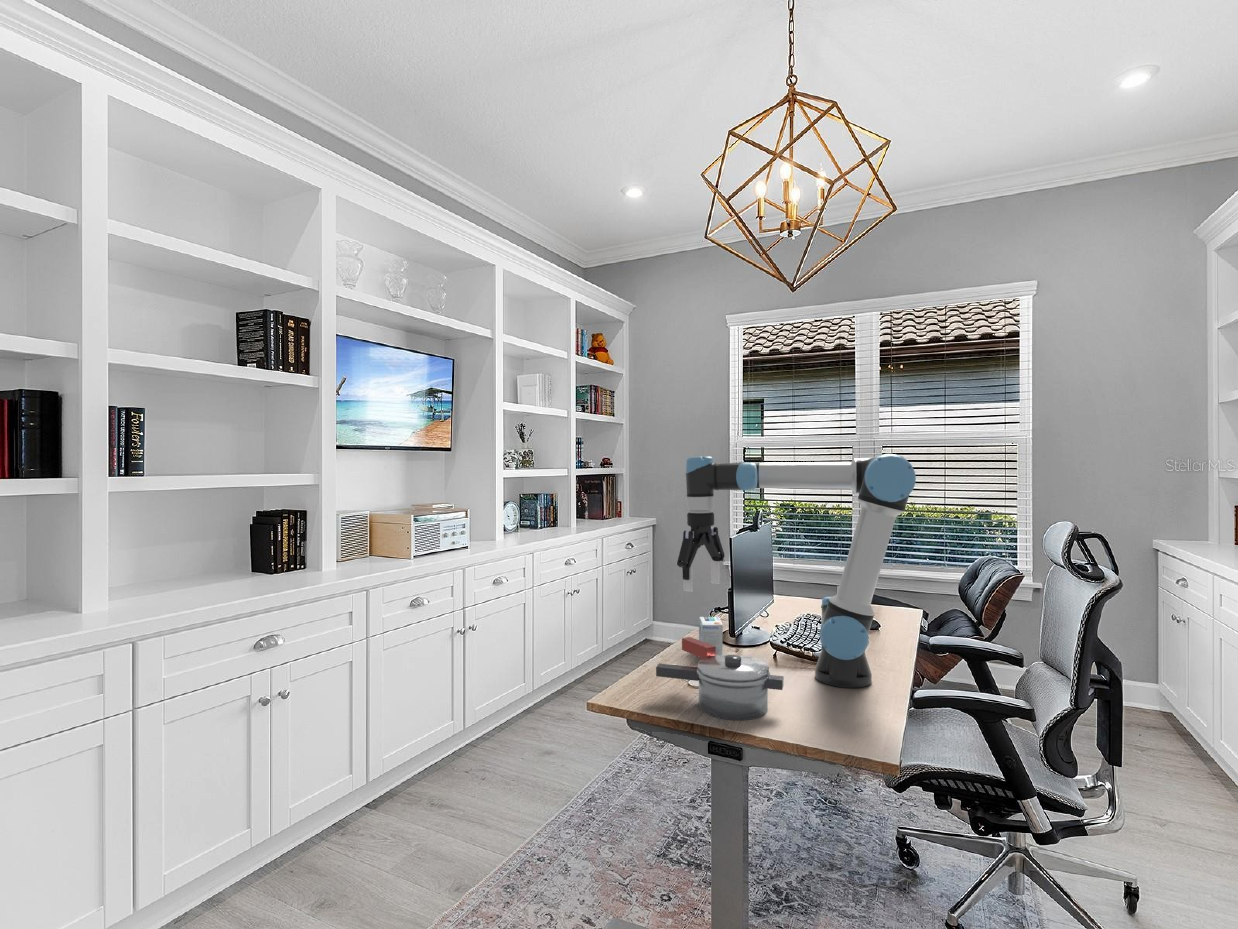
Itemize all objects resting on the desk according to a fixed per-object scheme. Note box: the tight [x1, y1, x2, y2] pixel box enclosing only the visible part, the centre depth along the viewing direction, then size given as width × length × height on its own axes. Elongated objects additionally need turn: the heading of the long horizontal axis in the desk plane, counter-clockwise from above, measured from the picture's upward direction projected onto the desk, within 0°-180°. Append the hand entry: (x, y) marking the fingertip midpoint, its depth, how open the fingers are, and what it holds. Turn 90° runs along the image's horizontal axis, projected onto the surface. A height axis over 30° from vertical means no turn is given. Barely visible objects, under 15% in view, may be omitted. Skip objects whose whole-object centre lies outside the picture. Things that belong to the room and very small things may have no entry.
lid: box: [681, 636, 770, 682], centre depth 172 cm, size 28×18×4 cm, turn 31°
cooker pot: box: [655, 663, 785, 721], centre depth 169 cm, size 32×18×9 cm, turn 71°
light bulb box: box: [698, 616, 724, 659], centre depth 213 cm, size 11×7×11 cm, turn 178°
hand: (702, 587), depth 187 cm, fingers open, 13 cm apart
